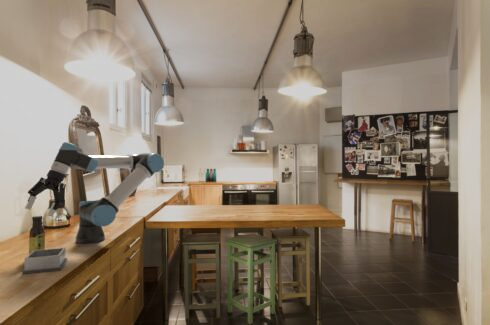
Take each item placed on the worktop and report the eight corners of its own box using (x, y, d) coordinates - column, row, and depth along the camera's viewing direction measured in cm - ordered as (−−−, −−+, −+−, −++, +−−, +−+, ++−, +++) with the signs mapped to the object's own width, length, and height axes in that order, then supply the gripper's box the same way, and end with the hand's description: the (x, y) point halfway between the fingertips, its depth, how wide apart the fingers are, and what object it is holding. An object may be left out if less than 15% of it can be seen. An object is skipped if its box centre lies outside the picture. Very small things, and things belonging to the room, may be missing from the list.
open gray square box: (32, 263, 142) (32, 249, 142) (67, 260, 147) (67, 247, 147) (22, 274, 129) (22, 259, 129) (61, 270, 134) (61, 255, 134)
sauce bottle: (40, 260, 147) (39, 217, 147) (25, 260, 147) (25, 217, 146) (47, 256, 154) (47, 215, 153) (34, 256, 153) (34, 215, 153)
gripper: (32, 164, 159) (12, 204, 153) (73, 174, 153) (53, 217, 147) (44, 169, 166) (24, 207, 160) (83, 179, 160) (64, 220, 154)
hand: (38, 212), depth 153 cm, fingers open, 13 cm apart
